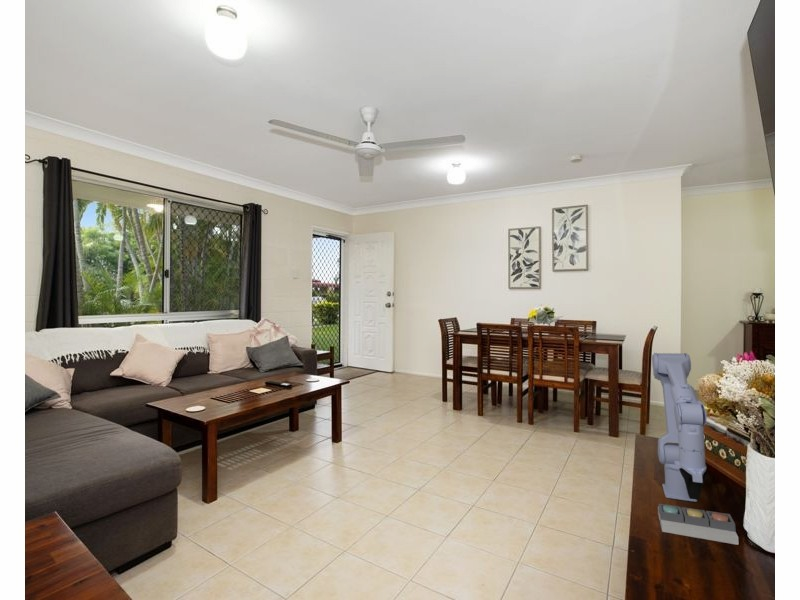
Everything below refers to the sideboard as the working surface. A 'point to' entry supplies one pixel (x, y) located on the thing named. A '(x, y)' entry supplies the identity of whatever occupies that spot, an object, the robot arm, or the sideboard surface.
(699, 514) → the ochre button
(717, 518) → the brick button
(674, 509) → the teal button
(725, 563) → the sideboard surface
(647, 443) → the sideboard surface
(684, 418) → the robot arm
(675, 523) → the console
